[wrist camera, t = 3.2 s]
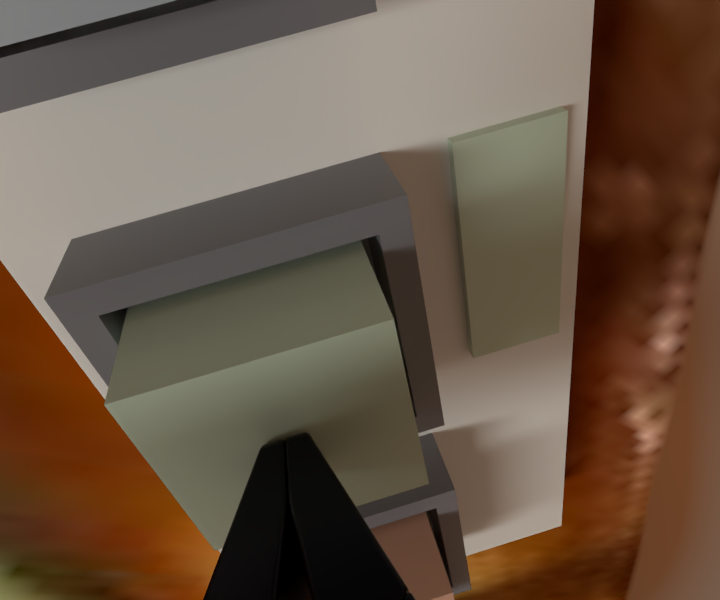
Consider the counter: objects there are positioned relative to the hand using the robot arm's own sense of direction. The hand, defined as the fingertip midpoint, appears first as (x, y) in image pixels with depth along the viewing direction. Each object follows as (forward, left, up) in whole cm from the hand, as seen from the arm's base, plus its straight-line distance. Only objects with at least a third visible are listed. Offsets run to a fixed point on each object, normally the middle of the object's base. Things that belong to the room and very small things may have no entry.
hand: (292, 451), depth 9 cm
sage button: (0, 0, -3) cm, 3 cm away
